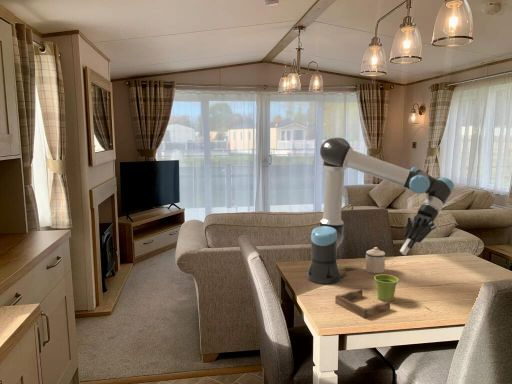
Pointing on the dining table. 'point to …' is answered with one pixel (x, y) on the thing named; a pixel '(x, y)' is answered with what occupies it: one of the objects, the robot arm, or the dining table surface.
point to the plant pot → (385, 286)
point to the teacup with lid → (375, 260)
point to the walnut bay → (344, 302)
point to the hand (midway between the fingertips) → (402, 253)
